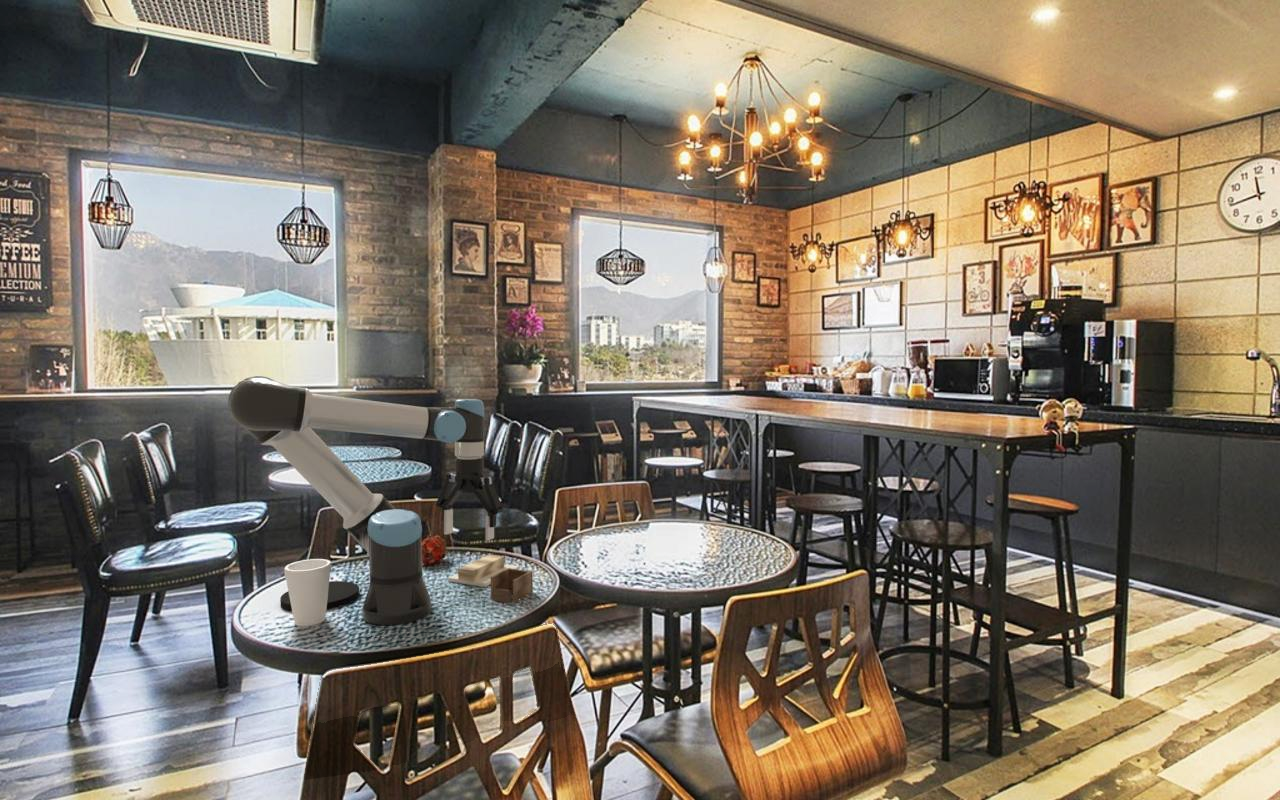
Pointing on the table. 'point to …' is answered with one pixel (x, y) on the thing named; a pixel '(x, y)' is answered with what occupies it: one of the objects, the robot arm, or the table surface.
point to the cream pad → (483, 581)
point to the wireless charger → (331, 595)
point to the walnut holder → (511, 585)
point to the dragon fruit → (433, 550)
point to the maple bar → (480, 568)
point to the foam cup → (308, 590)
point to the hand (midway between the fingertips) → (468, 536)
